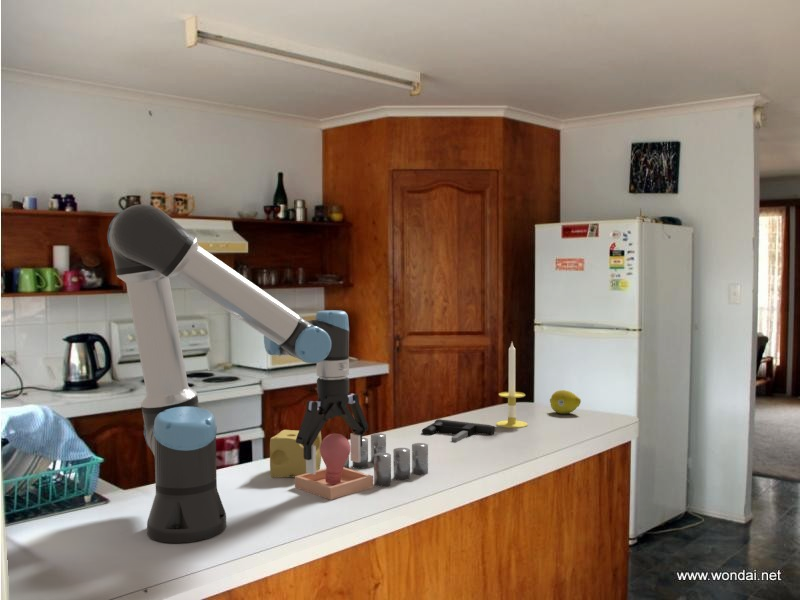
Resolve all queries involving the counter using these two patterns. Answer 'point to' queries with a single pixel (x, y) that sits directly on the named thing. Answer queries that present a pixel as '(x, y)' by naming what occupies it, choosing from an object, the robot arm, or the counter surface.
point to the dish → (349, 484)
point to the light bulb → (334, 456)
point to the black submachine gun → (458, 429)
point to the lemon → (564, 402)
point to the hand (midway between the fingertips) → (333, 467)
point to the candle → (511, 396)
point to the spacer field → (384, 460)
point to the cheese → (290, 455)
